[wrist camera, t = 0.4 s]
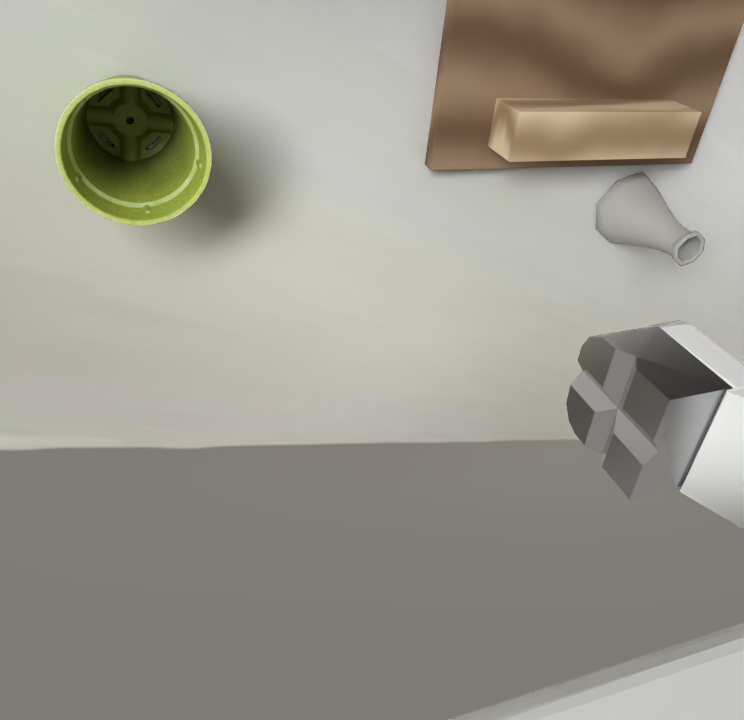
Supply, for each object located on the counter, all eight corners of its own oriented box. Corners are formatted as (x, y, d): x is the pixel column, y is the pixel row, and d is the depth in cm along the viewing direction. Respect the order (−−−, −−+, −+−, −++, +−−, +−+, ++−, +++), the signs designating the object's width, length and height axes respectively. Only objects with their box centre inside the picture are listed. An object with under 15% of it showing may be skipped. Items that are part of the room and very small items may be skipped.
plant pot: (125, 17, 45) (130, 43, 39) (222, 123, 51) (241, 161, 45) (30, 110, 47) (19, 151, 40) (135, 203, 53) (140, 252, 46)
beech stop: (496, 98, 55) (519, 111, 52) (671, 99, 61) (701, 112, 58) (487, 146, 58) (509, 161, 55) (656, 143, 63) (685, 157, 60)
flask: (661, 212, 70) (729, 254, 63) (603, 252, 71) (663, 298, 63) (647, 158, 66) (718, 196, 58) (585, 200, 66) (648, 244, 59)
